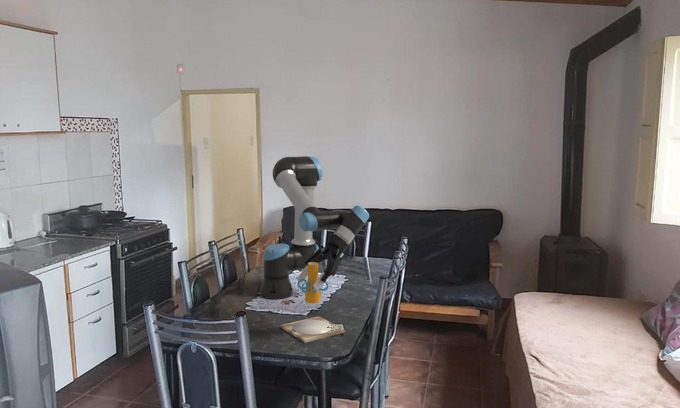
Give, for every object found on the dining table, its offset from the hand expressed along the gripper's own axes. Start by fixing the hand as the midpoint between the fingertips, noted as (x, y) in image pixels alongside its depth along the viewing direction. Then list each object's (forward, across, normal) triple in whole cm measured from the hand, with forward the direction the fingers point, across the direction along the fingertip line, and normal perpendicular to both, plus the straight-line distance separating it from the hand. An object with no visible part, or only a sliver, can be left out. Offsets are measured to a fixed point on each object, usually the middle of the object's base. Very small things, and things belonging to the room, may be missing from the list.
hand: (307, 284), depth 201 cm
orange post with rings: (+3, 0, -7) cm, 8 cm away
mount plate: (+11, 0, -15) cm, 19 cm away
